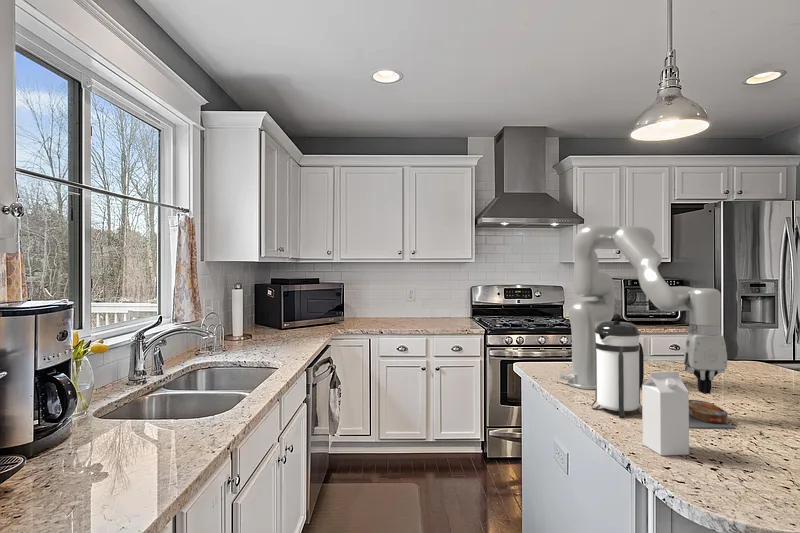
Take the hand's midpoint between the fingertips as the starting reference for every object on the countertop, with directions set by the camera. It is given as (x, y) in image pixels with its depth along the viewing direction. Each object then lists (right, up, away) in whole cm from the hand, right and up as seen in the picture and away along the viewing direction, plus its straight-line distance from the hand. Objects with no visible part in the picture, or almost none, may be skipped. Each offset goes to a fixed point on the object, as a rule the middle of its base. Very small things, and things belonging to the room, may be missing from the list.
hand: (704, 392), depth 135 cm
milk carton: (-25, -8, -23) cm, 35 cm away
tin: (+4, -6, 0) cm, 8 cm away
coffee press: (-21, -8, +8) cm, 24 cm away
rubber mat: (-4, -7, 0) cm, 8 cm away
